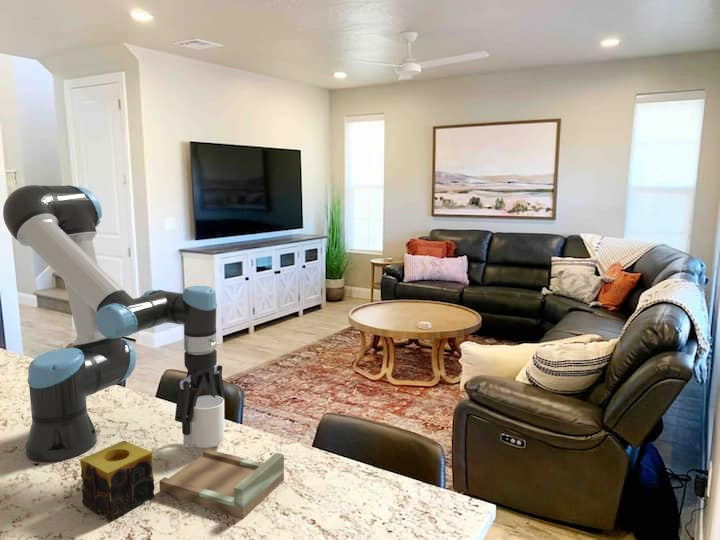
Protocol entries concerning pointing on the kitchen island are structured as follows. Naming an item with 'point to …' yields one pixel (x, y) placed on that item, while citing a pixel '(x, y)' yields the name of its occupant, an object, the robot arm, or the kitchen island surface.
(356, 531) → the kitchen island surface
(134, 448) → the candle
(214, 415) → the cup
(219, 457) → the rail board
